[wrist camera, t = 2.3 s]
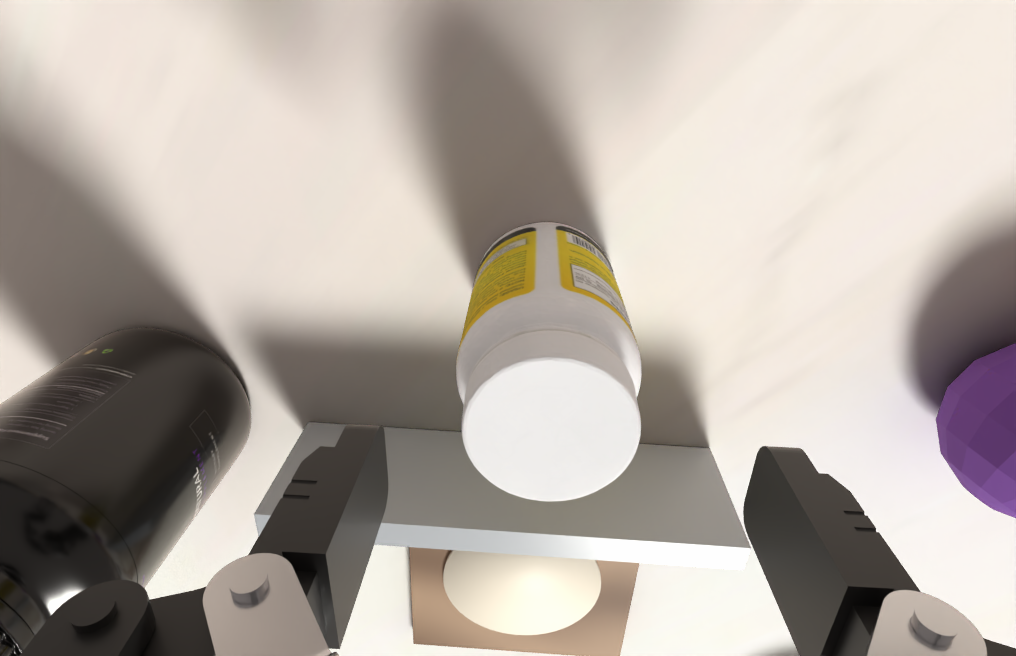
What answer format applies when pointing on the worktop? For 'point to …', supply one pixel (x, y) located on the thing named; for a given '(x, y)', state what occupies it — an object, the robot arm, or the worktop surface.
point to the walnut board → (520, 602)
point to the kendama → (983, 429)
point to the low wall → (544, 505)
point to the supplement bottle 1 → (109, 468)
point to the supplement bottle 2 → (548, 367)
